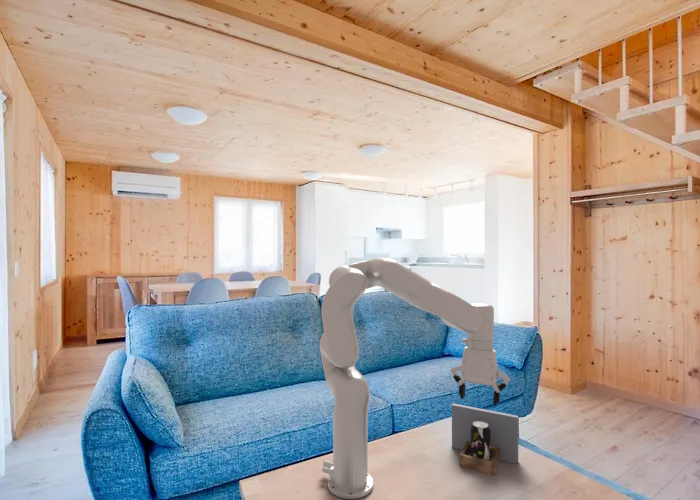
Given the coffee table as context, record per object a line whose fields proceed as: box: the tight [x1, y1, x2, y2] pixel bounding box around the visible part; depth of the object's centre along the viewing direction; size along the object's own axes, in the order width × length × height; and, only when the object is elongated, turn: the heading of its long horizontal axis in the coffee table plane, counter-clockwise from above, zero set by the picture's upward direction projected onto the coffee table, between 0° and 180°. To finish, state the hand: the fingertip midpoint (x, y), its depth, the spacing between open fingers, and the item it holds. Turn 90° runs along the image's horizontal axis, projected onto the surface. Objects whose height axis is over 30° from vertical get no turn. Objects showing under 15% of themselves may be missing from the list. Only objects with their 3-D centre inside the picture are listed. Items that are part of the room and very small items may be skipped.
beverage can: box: [470, 421, 492, 461], centre depth 120 cm, size 6×6×12 cm
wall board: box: [451, 403, 519, 465], centre depth 126 cm, size 20×2×14 cm, turn 61°
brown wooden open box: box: [459, 441, 501, 477], centre depth 121 cm, size 10×10×4 cm
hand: (478, 400), depth 121 cm, fingers open, 9 cm apart
